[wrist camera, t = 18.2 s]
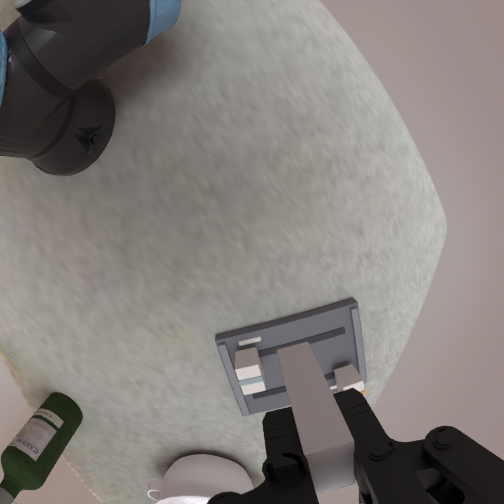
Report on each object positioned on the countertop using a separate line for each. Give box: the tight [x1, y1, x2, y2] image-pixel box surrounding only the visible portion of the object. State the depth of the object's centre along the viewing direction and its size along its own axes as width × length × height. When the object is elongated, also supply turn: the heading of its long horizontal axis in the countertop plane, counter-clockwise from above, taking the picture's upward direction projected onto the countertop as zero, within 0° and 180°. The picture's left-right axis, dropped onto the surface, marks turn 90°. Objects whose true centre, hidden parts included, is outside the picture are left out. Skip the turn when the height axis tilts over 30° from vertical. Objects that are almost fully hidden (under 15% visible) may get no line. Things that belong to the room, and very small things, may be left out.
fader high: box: [235, 347, 266, 395], centre depth 37 cm, size 3×4×6 cm
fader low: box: [334, 364, 365, 397], centre depth 38 cm, size 3×4×6 cm
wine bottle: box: [0, 393, 82, 504], centre depth 29 cm, size 8×8×30 cm
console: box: [215, 298, 367, 416], centre depth 42 cm, size 20×14×3 cm
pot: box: [147, 454, 254, 504], centre depth 41 cm, size 22×17×12 cm
